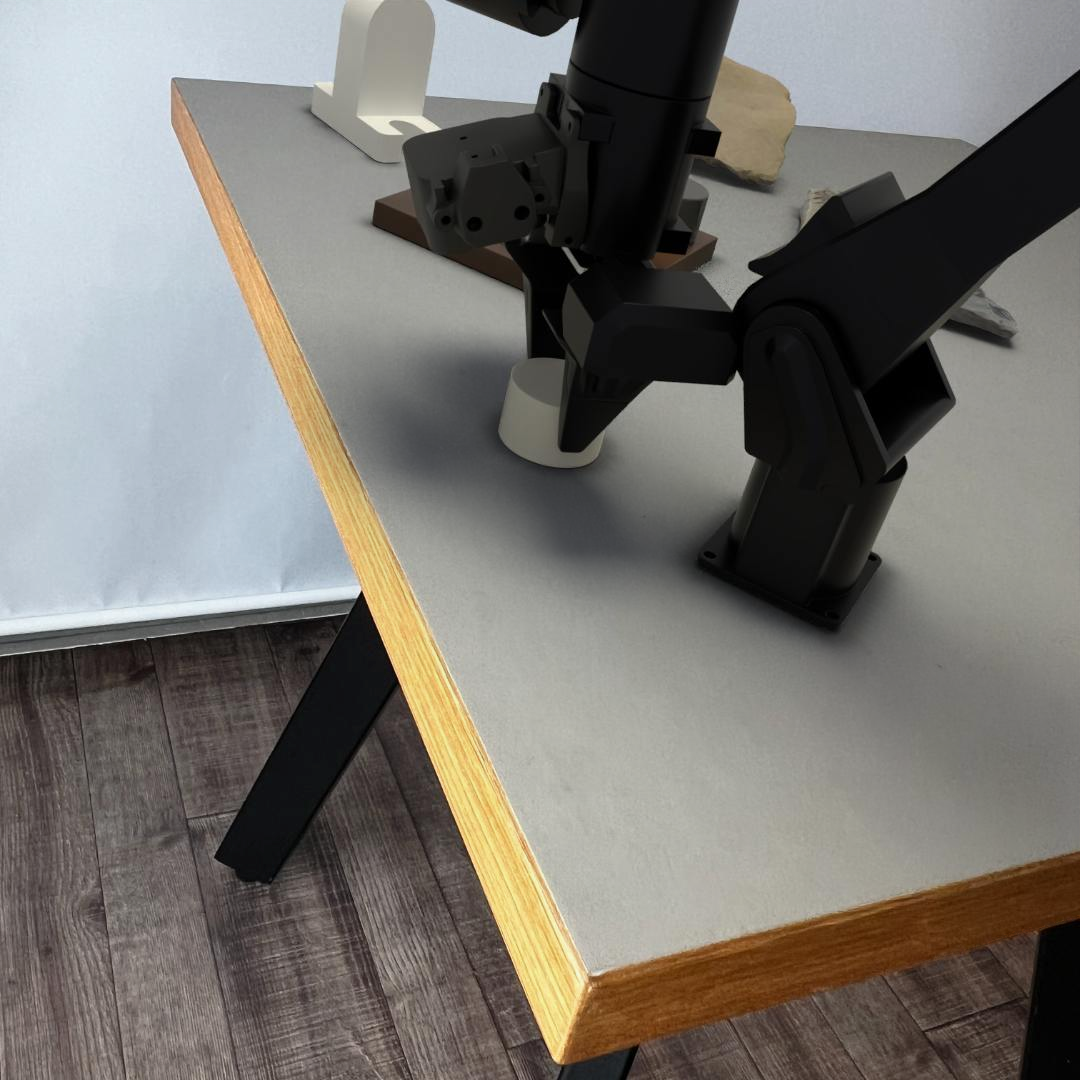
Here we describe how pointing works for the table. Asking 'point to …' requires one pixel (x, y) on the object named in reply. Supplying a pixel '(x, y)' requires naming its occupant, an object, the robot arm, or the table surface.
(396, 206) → the board
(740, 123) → the decorative stone
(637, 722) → the table surface
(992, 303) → the fossil rock
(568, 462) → the white stone
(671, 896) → the table surface
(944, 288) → the robot arm
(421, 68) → the white slotted stand
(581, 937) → the table surface
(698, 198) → the black stone
